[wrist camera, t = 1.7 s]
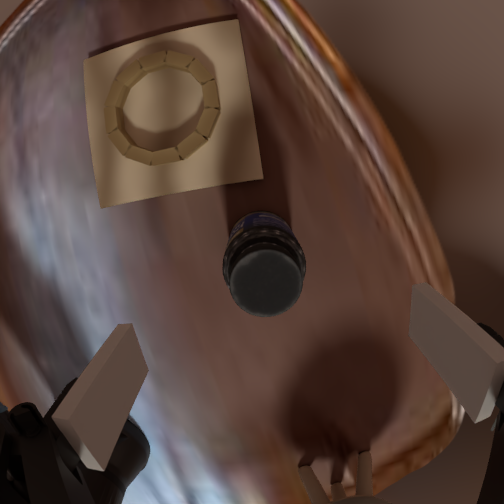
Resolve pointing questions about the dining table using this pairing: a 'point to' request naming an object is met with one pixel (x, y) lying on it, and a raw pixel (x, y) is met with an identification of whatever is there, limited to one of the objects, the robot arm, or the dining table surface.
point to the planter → (364, 496)
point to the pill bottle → (264, 264)
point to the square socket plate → (171, 114)
